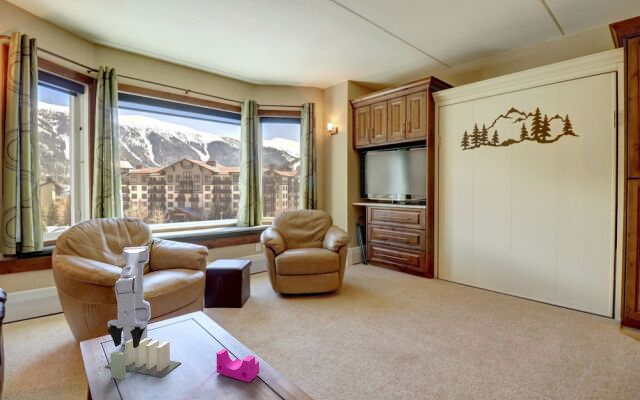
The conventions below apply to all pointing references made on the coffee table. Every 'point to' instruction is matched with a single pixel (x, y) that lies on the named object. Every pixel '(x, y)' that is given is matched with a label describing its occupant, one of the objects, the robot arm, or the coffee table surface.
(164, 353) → the domino
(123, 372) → the sage domino
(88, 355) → the coffee table surface
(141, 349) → the domino
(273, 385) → the coffee table surface
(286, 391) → the coffee table surface
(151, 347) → the domino
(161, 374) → the mat
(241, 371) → the toy block
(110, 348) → the coffee table surface
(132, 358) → the domino
